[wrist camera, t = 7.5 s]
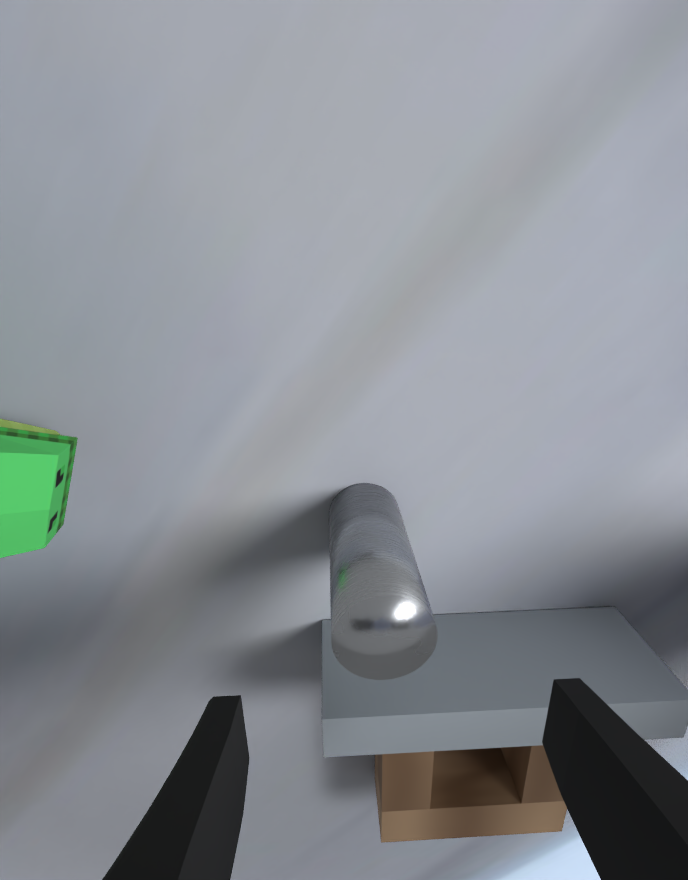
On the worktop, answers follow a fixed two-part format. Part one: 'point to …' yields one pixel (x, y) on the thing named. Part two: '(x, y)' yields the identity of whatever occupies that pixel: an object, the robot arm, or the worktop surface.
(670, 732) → the wall
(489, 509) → the worktop surface
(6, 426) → the toy
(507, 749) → the block
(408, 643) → the dowel
